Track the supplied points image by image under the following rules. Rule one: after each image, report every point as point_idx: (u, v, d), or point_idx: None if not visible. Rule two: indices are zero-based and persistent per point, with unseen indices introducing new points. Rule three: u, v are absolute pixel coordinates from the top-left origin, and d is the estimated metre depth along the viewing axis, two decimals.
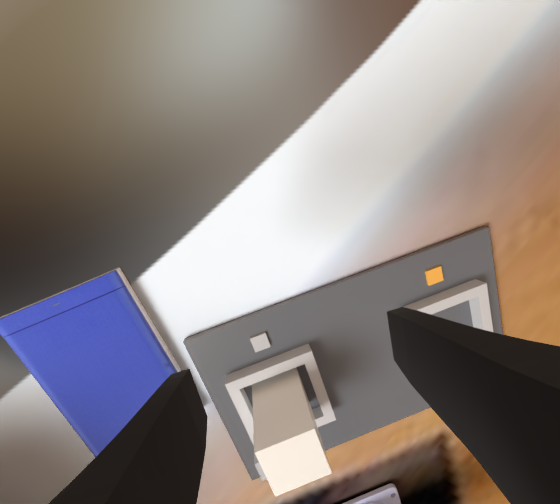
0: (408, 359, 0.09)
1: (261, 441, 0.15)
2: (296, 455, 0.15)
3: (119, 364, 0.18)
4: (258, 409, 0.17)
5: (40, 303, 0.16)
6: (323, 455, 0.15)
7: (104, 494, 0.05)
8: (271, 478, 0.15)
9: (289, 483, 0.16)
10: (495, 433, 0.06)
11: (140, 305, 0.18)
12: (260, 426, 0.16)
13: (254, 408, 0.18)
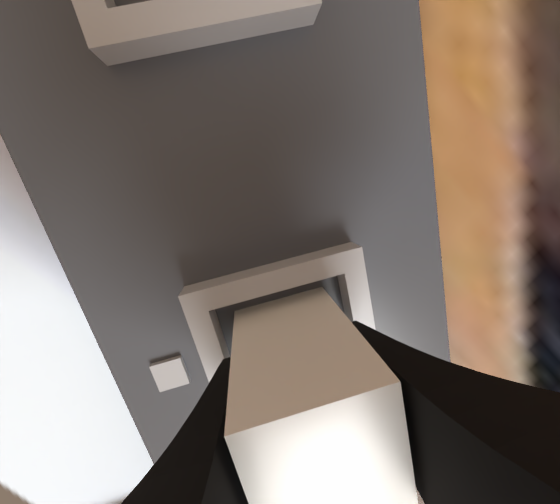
0: None
1: None
2: (306, 473, 0.05)
3: None
4: None
5: None
6: (328, 407, 0.05)
7: (203, 463, 0.05)
8: None
9: (392, 481, 0.06)
10: (421, 458, 0.06)
11: None
12: None
13: None
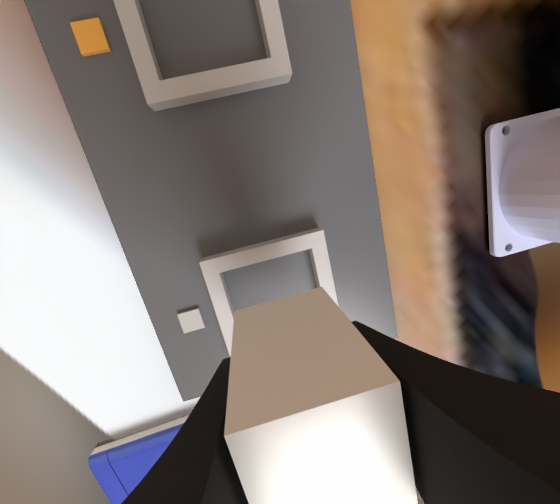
0: None
1: None
2: (305, 472, 0.05)
3: None
4: None
5: None
6: (328, 407, 0.05)
7: (203, 462, 0.05)
8: None
9: (391, 481, 0.06)
10: (421, 458, 0.06)
11: (138, 435, 0.16)
12: None
13: None
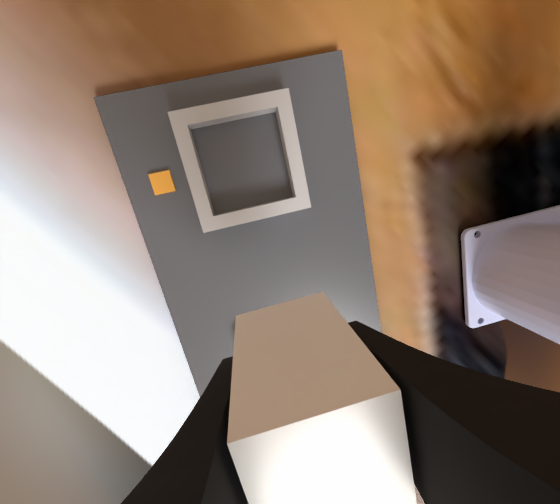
0: None
1: None
2: (307, 478, 0.06)
3: None
4: None
5: None
6: (329, 415, 0.05)
7: (203, 463, 0.05)
8: None
9: (392, 487, 0.06)
10: (422, 458, 0.06)
11: None
12: None
13: None
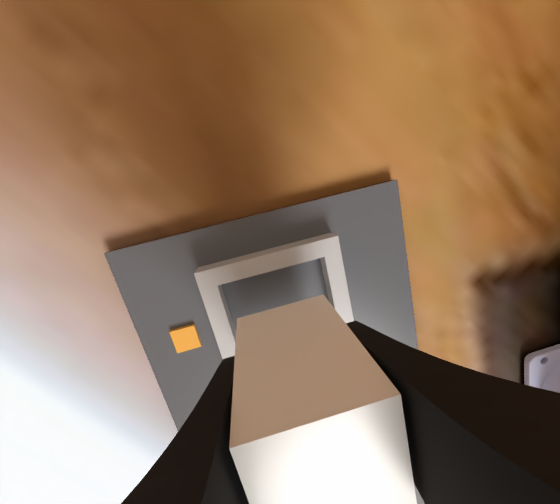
0: None
1: None
2: (308, 483, 0.06)
3: None
4: None
5: None
6: (330, 419, 0.05)
7: (203, 462, 0.05)
8: None
9: (392, 491, 0.06)
10: (421, 458, 0.06)
11: None
12: None
13: None
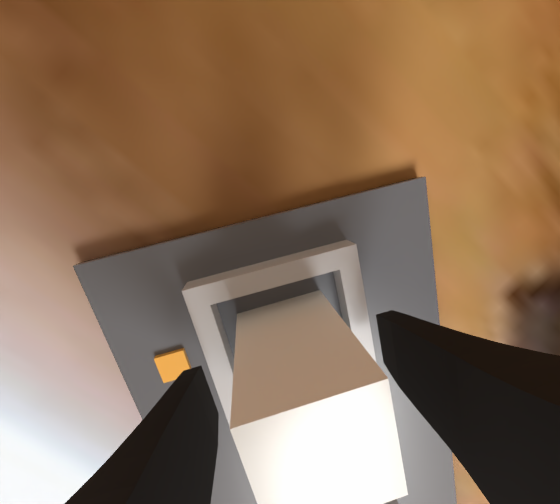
0: (396, 363, 0.09)
1: None
2: (304, 461, 0.06)
3: None
4: None
5: None
6: (323, 402, 0.06)
7: (128, 486, 0.05)
8: None
9: (382, 470, 0.06)
10: (478, 439, 0.06)
11: None
12: None
13: None
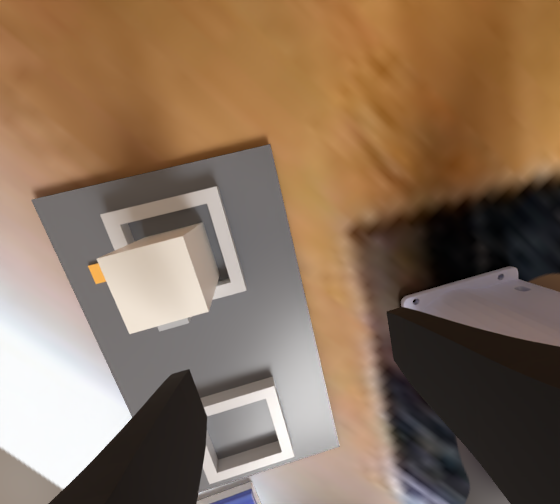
0: (408, 359, 0.09)
1: None
2: (141, 282, 0.11)
3: None
4: None
5: None
6: (147, 247, 0.11)
7: (104, 494, 0.05)
8: (176, 315, 0.12)
9: (190, 293, 0.12)
10: (495, 433, 0.06)
11: None
12: None
13: None
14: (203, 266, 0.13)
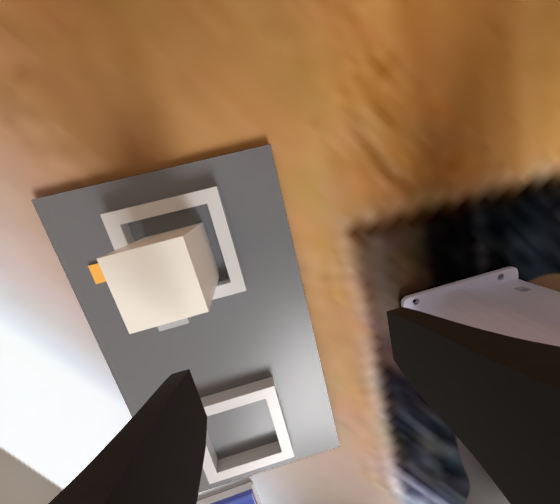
0: (408, 359, 0.09)
1: None
2: (141, 282, 0.11)
3: None
4: None
5: None
6: (147, 247, 0.11)
7: (104, 494, 0.05)
8: (176, 315, 0.12)
9: (190, 293, 0.12)
10: (495, 433, 0.06)
11: None
12: None
13: None
14: (203, 266, 0.13)
